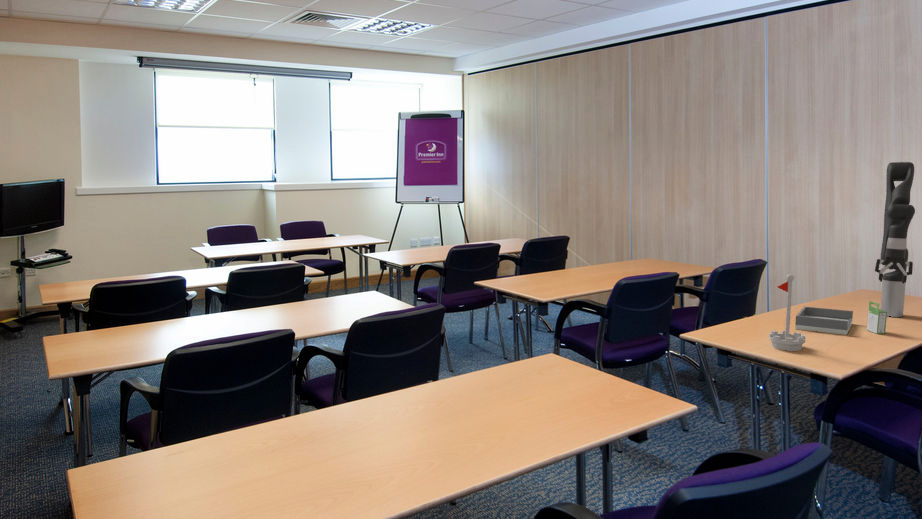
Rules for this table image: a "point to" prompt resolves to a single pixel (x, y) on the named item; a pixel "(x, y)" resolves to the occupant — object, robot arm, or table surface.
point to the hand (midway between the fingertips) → (891, 282)
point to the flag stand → (787, 325)
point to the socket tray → (824, 320)
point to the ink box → (876, 319)
